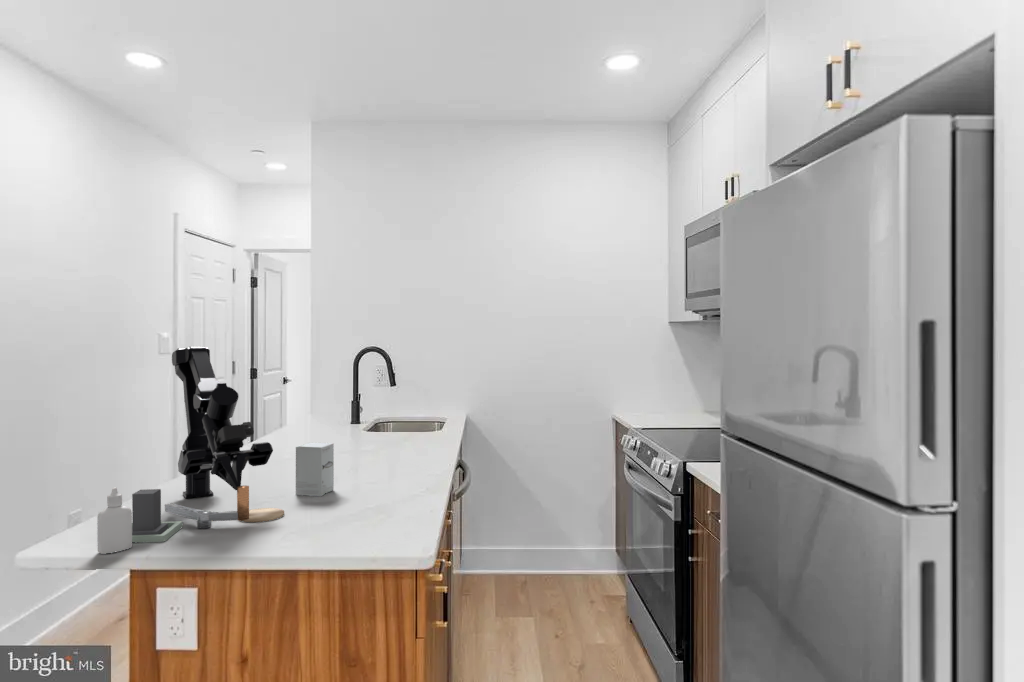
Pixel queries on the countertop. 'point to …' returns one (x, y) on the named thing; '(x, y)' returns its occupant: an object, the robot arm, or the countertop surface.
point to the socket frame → (162, 537)
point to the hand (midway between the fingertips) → (238, 489)
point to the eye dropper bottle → (114, 525)
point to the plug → (147, 513)
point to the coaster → (264, 514)
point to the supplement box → (314, 469)
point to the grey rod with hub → (207, 517)
